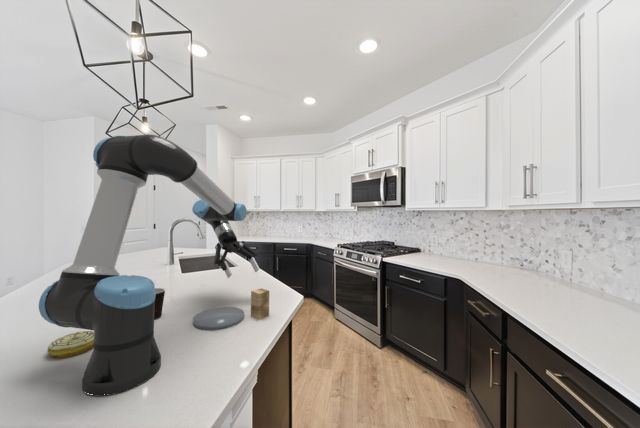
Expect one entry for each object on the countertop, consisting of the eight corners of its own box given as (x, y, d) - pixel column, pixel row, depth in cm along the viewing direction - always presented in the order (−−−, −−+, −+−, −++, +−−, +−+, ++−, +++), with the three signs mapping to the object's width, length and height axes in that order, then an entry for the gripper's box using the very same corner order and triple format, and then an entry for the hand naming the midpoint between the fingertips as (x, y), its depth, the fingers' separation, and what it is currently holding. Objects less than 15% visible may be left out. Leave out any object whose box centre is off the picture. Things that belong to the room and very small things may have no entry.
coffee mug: (169, 313, 98) (170, 288, 98) (152, 323, 89) (153, 295, 90) (142, 312, 99) (143, 287, 99) (123, 321, 91) (124, 293, 91)
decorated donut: (103, 337, 79) (104, 325, 79) (91, 354, 69) (92, 341, 69) (59, 344, 74) (59, 332, 74) (39, 363, 65) (39, 349, 65)
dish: (207, 335, 81) (208, 330, 81) (184, 320, 92) (184, 316, 92) (253, 318, 95) (253, 314, 95) (228, 307, 106) (228, 303, 106)
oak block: (258, 319, 94) (259, 293, 94) (250, 316, 97) (251, 291, 97) (268, 315, 98) (269, 290, 98) (260, 312, 101) (261, 288, 101)
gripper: (245, 239, 126) (263, 273, 116) (196, 242, 106) (213, 284, 97) (252, 229, 123) (271, 263, 113) (202, 231, 103) (220, 272, 94)
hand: (244, 273), depth 105 cm, fingers open, 13 cm apart
